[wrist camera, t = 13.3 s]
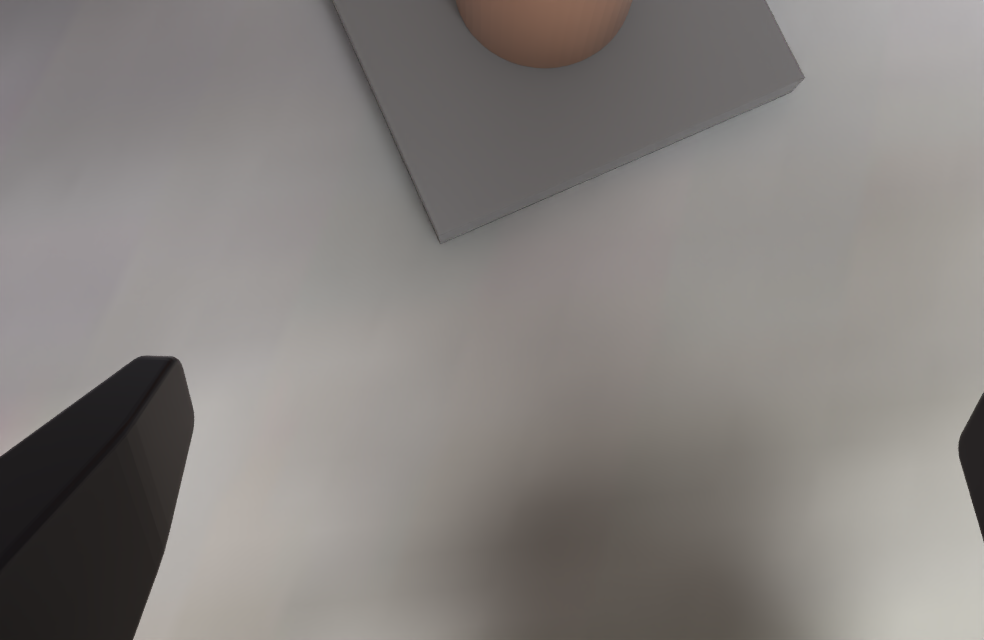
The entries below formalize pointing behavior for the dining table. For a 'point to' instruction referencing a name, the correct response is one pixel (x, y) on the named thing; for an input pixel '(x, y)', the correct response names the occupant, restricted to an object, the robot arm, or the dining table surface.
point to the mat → (555, 97)
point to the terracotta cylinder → (544, 28)
